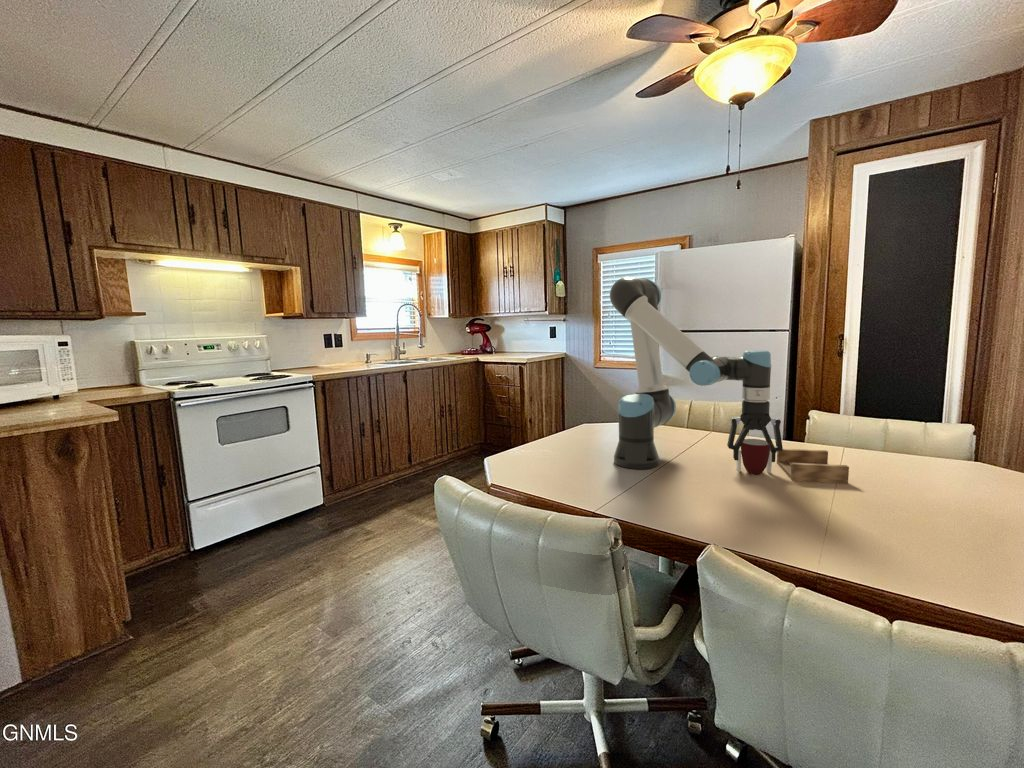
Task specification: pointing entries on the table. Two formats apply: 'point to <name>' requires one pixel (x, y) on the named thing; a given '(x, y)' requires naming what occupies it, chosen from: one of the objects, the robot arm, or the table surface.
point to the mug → (755, 455)
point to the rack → (811, 466)
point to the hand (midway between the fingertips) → (753, 470)
